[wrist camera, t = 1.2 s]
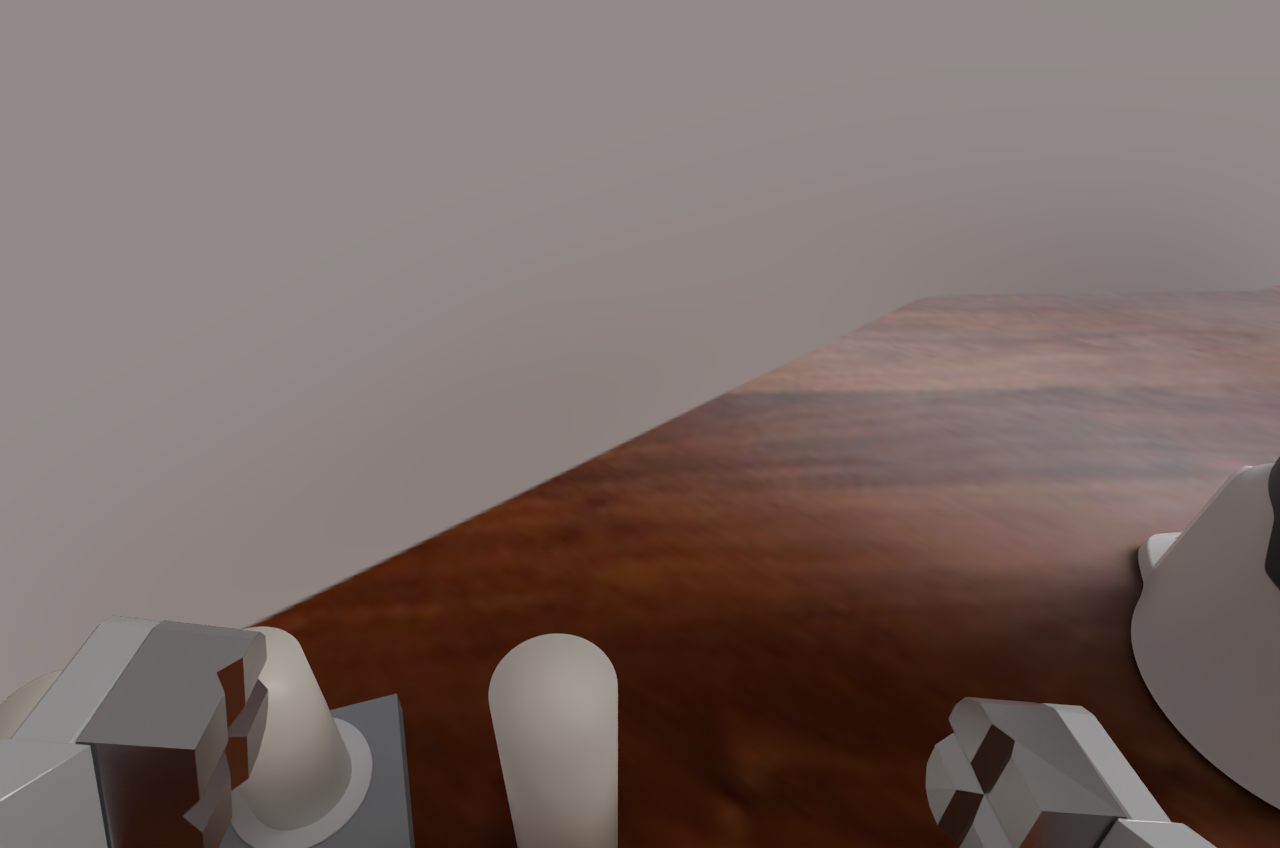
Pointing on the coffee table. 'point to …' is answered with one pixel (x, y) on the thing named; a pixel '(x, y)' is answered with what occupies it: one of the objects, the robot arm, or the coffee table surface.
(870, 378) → the coffee table surface
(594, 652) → the ivory pin
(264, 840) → the pin board
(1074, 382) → the coffee table surface
